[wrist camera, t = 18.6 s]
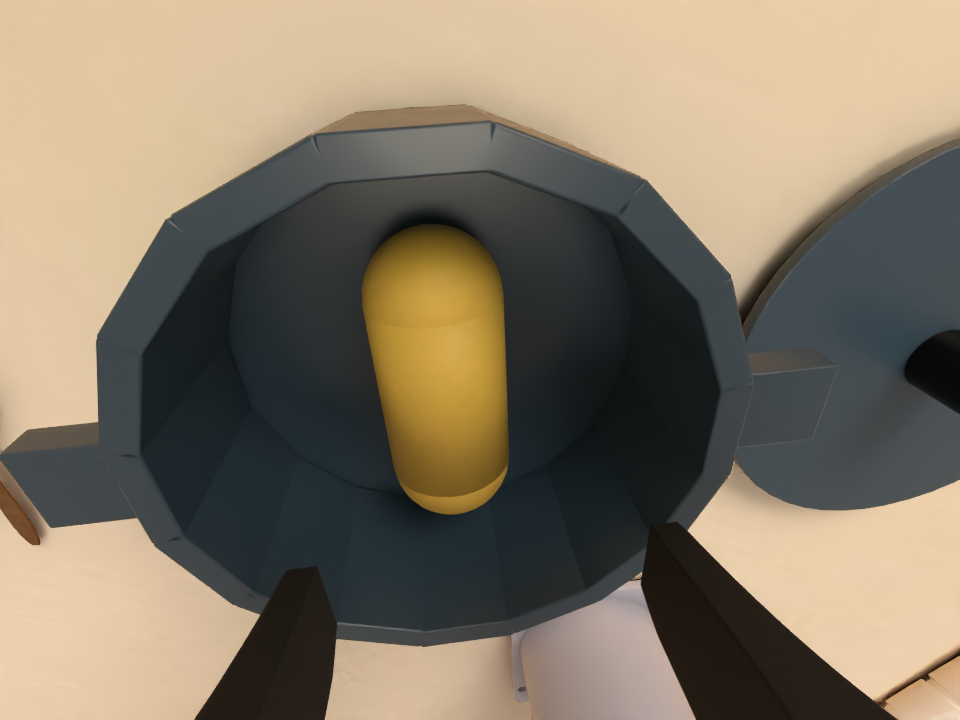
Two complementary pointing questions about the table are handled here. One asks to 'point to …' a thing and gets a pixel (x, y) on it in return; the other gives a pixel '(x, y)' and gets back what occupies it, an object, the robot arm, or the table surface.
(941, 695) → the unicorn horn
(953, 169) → the pot lid
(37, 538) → the place setting
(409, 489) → the yellow rounded capsule
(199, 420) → the pot
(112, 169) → the table surface
